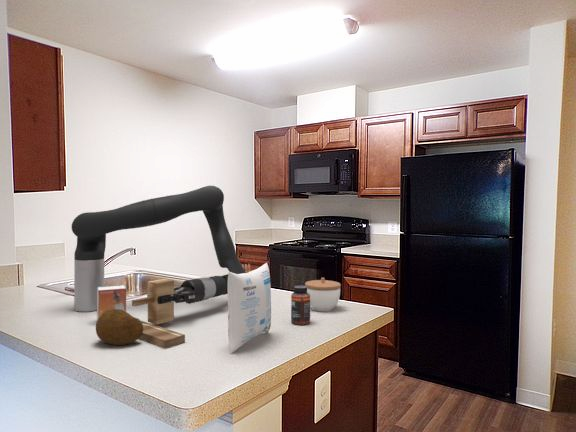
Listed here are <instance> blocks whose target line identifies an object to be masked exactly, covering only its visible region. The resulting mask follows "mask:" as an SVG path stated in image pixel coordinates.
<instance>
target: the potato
mask: <svg viewBox="0 0 576 432" xmlns="http://www.w3.org/2000/svg"><path fill="white" fill-rule="evenodd" d="M141 321H142V320H141V319H139V318H138V317H135V316H133V315H132V314H130V313H128V312H127V311H126V312H125V311H123V310H120V309H112V310H108V311H105V312H104V313H103V314H102V315H101V316H100V317H99V319H98V321H97V320H96V323H95V333H96V336H97V337H98V338H99V340H101V341H102V342H103V343H105V344H109V345H112V346H126V345H129V344H132V343H135V342H136V341H137V340H139V339H138V338H139V337H140V336H141V335H142V332H143V325H142V322H141Z"/></svg>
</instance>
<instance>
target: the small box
mask: <svg viewBox="0 0 576 432" xmlns="http://www.w3.org/2000/svg"><path fill="white" fill-rule="evenodd" d="M112 309H120V310H123V311H125V312H127V288H126V285H124V284H123V285H113V286H111V285H110V286H104V287H98V289H97V310H96V322H97V321H98V319H99V317H100V316H101V315H102V314H103V313H104V312H105V311H108V310H112Z"/></svg>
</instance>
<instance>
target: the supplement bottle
mask: <svg viewBox="0 0 576 432" xmlns="http://www.w3.org/2000/svg"><path fill="white" fill-rule="evenodd" d="M293 290H294V291H293V292H292V293H291V296H290V299H291V300H290V304H291V305H290V307H291V309H290V321H291V323H292V324H294V325H297V326H304V325H308V324H309V323H311V306H310V294H309V293H307V286H305V285H295V286H294V289H293Z"/></svg>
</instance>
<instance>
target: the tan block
mask: <svg viewBox="0 0 576 432" xmlns="http://www.w3.org/2000/svg"><path fill="white" fill-rule="evenodd" d="M174 287H175V280H173V279H168V278H162V279H156V280H149V281H147V295H148V297H141V298H138V299H137V298H136V299H132V300H131V305H132V306H133V307H138V306H143V305H147V323H150V324H153V325H161V324H164V323H167V322H172V321H174V320H175V302H173V303H171V302H168V303H163V304H158V303H157V298H158V296H163V295H168V294H169V295H170V294H171V293H174Z"/></svg>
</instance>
